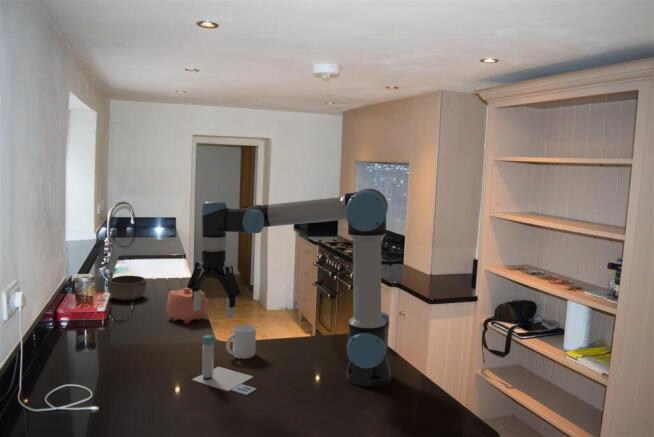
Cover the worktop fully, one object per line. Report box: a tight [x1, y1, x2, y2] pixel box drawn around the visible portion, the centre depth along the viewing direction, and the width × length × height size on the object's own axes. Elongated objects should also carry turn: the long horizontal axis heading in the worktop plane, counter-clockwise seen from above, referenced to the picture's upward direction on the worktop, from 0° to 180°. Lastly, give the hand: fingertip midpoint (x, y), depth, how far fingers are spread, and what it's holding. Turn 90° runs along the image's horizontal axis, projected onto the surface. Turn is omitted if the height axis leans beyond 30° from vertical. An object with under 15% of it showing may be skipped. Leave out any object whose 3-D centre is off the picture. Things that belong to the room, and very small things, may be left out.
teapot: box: [166, 287, 209, 325], centre depth 235 cm, size 22×13×14 cm, turn 61°
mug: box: [225, 324, 257, 360], centre depth 194 cm, size 12×8×10 cm
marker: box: [201, 334, 215, 380], centre depth 173 cm, size 4×4×14 cm
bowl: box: [108, 275, 147, 302], centre depth 265 cm, size 17×18×10 cm
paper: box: [191, 366, 254, 392], centre depth 174 cm, size 15×13×1 cm
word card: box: [230, 383, 257, 396], centre depth 166 cm, size 6×5×1 cm
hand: (213, 313), depth 172 cm, fingers open, 13 cm apart
